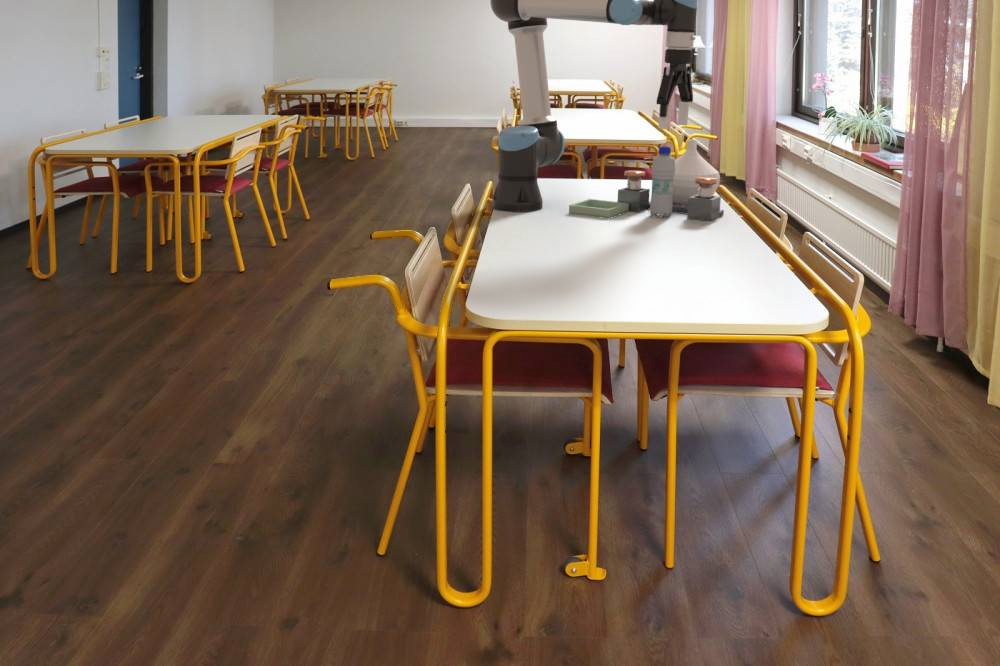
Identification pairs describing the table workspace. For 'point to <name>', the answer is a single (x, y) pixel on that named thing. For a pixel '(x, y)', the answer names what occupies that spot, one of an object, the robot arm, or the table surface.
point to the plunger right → (705, 186)
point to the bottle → (662, 183)
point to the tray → (598, 208)
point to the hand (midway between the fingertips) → (672, 127)
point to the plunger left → (634, 179)
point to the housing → (694, 210)
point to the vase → (690, 174)
